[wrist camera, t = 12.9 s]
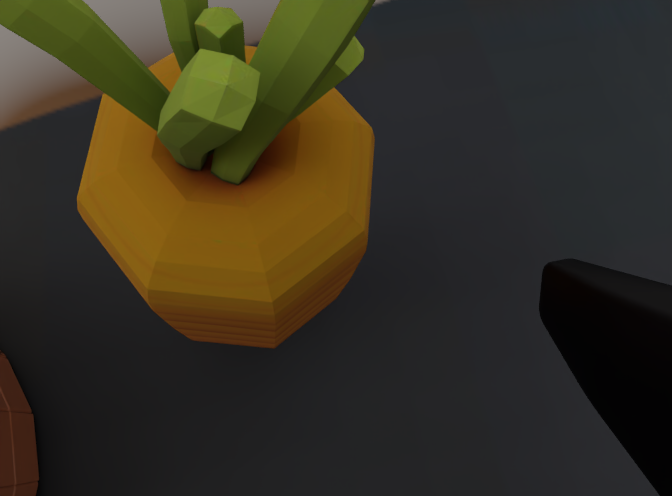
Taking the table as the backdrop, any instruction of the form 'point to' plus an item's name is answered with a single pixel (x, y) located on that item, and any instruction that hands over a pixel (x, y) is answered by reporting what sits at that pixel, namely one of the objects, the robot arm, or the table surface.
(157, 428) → the table surface
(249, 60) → the carrot
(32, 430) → the bowl
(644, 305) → the robot arm
